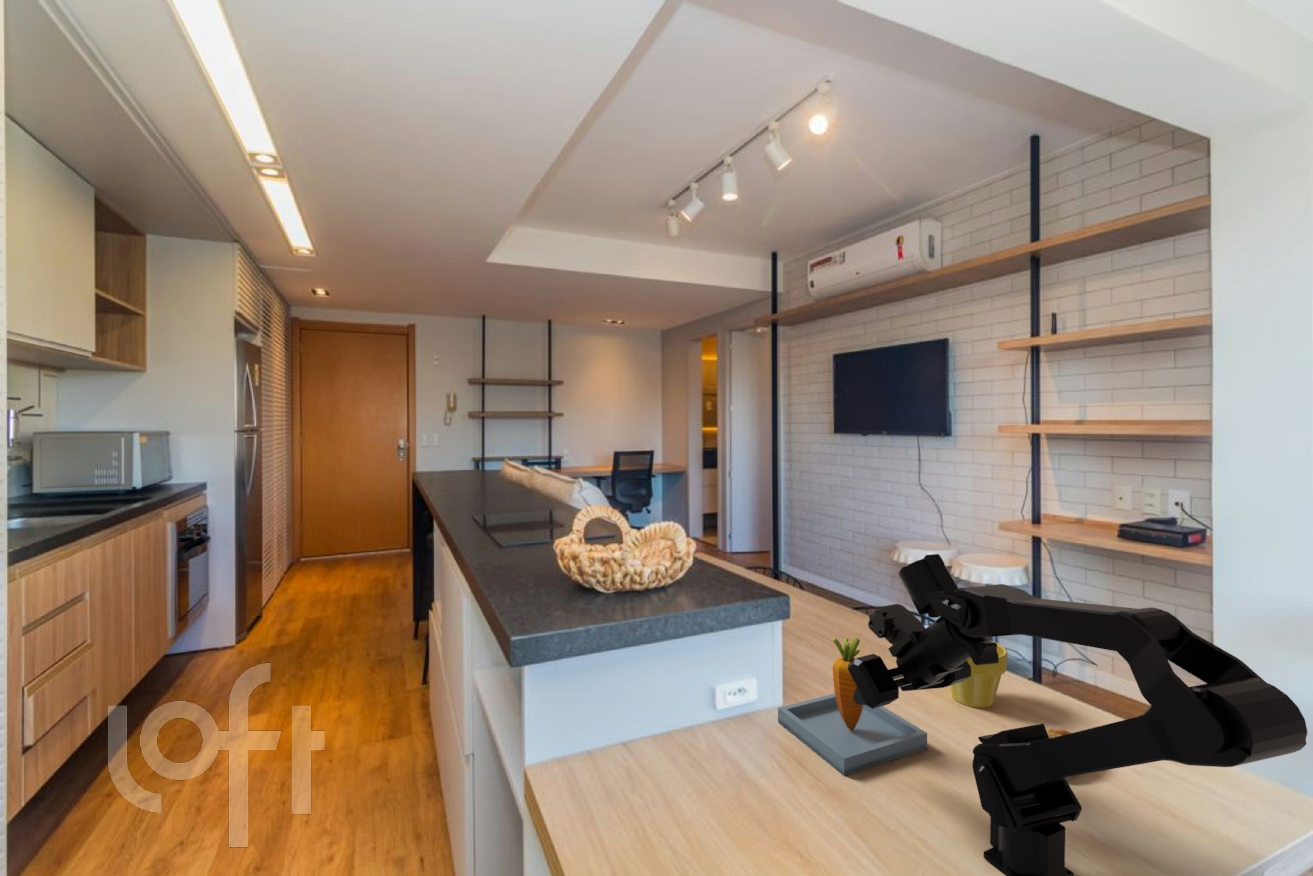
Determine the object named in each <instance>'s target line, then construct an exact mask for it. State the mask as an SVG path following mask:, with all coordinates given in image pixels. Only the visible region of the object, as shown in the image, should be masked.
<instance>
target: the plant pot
mask: <svg viewBox="0 0 1313 876" xmlns="http://www.w3.org/2000/svg"><path fill="white" fill-rule="evenodd" d="M991 641H992V642H995V643H997V653H998V656H999V662H998V663H997V664H986V665H975V664H974V662H973V661H972V659H971V658H969V659H968V660H967V662H968V663H969V665H970V666H971V677H969V678H968V679H966V680H965V681H963V682H960V683H956V684H954V685H950V686H949V688H950V692H951V697H952V698H953V700H955V701H956V702H957V703H959V704H962V705H963V706H967V707H971V708H976V709H987V708H990V707H992V706H994V703H995V699H996V695H997V692H998V688H999V685H1000V682H1001V678H1002V676H1003V675H1004V674H1005V673H1006V672H1007V667H1008V666H1007V665H1008V652H1007V649H1006V648H1005V647H1004V646H1003V645H1001V644H1000V643H998V642H996V641H993V640H991Z"/></svg>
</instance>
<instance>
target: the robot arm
mask: <svg viewBox="0 0 1313 876" xmlns="http://www.w3.org/2000/svg"><path fill="white" fill-rule="evenodd" d="M898 576H899V579H900V581H901V582H902V585H903V586H904V589H905V590H906V592H907V594H908V596H909V598H910V600H911V602H912V603H913V605H914V607H915V609H916V611H917V612H918V614H919V615H920V616H922V615H928V616H929V618H932V619H934V618H935V619H936V618H937V619H936V620H935V621H934V622H932V623H931V624H930V625H928V626H927V627H925V626H924V625H923V623H922V621H921V620H920V619H918V618H917V616H916V615H914V614H913V613H912V612H911V611H910V610H908V608H906V607H905V606H904V605H902V604H900V603H892V604H889V605H884V606H880V607H879V608H878V609H875V610H874V612H873V613H871V614H869V615H868V623H867V625H868V629H869V630H870V631H871V632H872V633H873V634H874V635H875V636H876V637H877V638H878V639H883V638H884V639H885V640H886V641H887V642H888V643H890V644H891V646H890V647H888V651H889V652H890V654H891V656H892V657H893V658H895V663H896V666H897V667H894V668H890V669H888V668H887V666H886V663H885V662H884V660H883V658H882V657H881V656H880V655H877V654H874V653H871V654H867V655H862V656H859V657H854V658H855V659H854V660H853V661H852V662H850V663H849V664H848V671H849V672H850V674H851V676H852V678H853V680H854V682H855V684H856V686H857V688H856V691H855V693H854V696H853V699H854V701H855V703H856V704H857V705H867V706H869V707H870V708H872V709H874V708H877V707H881V706H883V707H884V706H887V705H891V703H893V702H895V701H897V700H898V699H900V697H899V695H900V692H899V691H900V690H901V692H907V691H908V692H911V691H912V692H913V691H921V690H922V691H923V690H931V689H932V690H933V689H943V688H947V687H950V685H954V684H956V683H960V682H963V681H965V680H966V679H968V678H969V677H971V666H970V665H969V663H968V662H967V660H968V659H969V658H971V659H972V661H973V662H974V664H975V665H986V664H997V663H998V662H999V656H998V653H997V643H998V642H996V641H993V640H991V639H990V638H992V637H1004V636H1005V637H1007V636H1020V635H1021V636H1027V637H1033V638H1038V639H1045V640H1049V641H1055V642H1062V643H1066V644H1071V645H1072V644H1074V645H1078V646H1085V647H1089V648H1090V647H1091V648H1096V649H1101V650H1106V651H1107V650H1108V651H1113V652H1117V653H1118V654H1119V655H1120V656H1121V658H1122V659H1124V660H1125V661H1126V662H1127V664H1128V666H1129V667H1130V671H1131V672H1132V675H1133V677H1134V679H1135V682H1136V684H1137V686H1138V689H1139V691H1140V693H1141V696H1142V697H1143V699H1145V700H1146V702H1147V703H1148V704H1149V706H1148V707H1147V709H1146V710H1145V711H1144V712H1143V713H1142V714H1140V715H1138V716H1135V717H1131V718H1127V719H1124V720H1119V721H1115V722H1112V723H1107V724H1104V725H1103V724H1102V725H1100V726H1094V727H1091V728H1088V729H1082V730H1079V731H1076V732H1071V733H1070V734H1066V735H1062V736H1058V737H1054V738H1053V737H1050V736H1048V734H1047V731H1046V730H1047V729H1046V726H1045V723H1039V724H1038V723H1037V724H1032V725H1027V726H1022V727H1021V726H1020V727H1017V728H1012V729H1005V730H1001V731H999V732H997V733H993V734H992V733H991V734H988V735H986V734H985V735H983V736H978V737H977V738H978V740H979V742H980V743H979V744H976V745H975V746H974V748H973V749H972V754H973V759H972V770H973V771H972V772H973V774H974V775H973V776H974V779H975V784H976V787H977V788H976V789H977V792H978V796H979V797H978V798H979V801H980V805H981V809H982V810H983V811H985V812H986V813H987V814H988V815H989V817H990V818H989V819H990V822H989V829H990V830H989V845H990V846H992V847H991V848H989V849H986V850H985V851H983V858H984V859H985V860H986V861H987V862H989V863H990V864H991V865H993V866H994V867H995V868H997V869H998V870H999V871H1001V872H1002V873H1003V874H1005V875H1006V876H1075V873H1074V872H1073V871H1072V870H1071V869H1069V868H1068V867H1066V866H1065V865H1066V826H1064V825H1063V823H1066V822H1070V821H1071V822H1076V821H1077V820H1078V819H1079V816H1080V813H1081V812H1082V810H1083V808H1082V805H1081V803H1080V801H1079V799H1078V798H1077V796H1076V794H1075V793H1074V792H1073V790H1072V788H1071V786H1070V785H1069V781H1070V780H1071V779H1072V778H1073V777H1075V776H1080V775H1085V774H1090V773H1091V774H1092V773H1097V772H1103V771H1109V770H1114V769H1115V770H1116V769H1121V768H1125V767H1126V768H1127V767H1131V766H1138V765H1143V764H1149V763H1150V764H1151V763H1155V762H1161V761H1169V762H1174V763H1178V764H1181V765H1184V766H1185V765H1186V766H1197V767H1217V768H1232V767H1233V768H1234V767H1237V766H1242V765H1247V764H1251V763H1254V762H1255V763H1256V762H1259V761H1264V760H1267V759H1272V758H1276V757H1281V756H1284V755H1289V754H1293V753H1296V752H1298V751H1301V750H1302V749H1303V748H1305V747H1306V745H1307V740H1306V739H1307V735H1308V728H1307V724H1306V719H1305V717H1304V715H1303V714H1302V712H1301V710H1300V708H1299V707H1298V705H1297V704H1296V703H1295V702H1294V701H1293V700H1292V699H1291V697H1290V696H1289V695H1287V694H1286V693H1285V692H1283V690H1281V689H1279V688H1278V687H1276V685H1273V684H1271V683H1268V682H1266V680H1264V679H1263V678H1262V677H1261V676H1260V675H1258V673H1256V672H1255V671H1254V670H1252V668H1250V667H1249V666H1248V665H1247V664H1246V663H1245V662H1244V661H1242V660H1240V659H1239V657H1237V656H1235V655H1233V654H1231V653H1229V652H1228V651H1226V650H1224V649H1222V648H1221V647H1220V646H1218V645H1216V644H1213V643H1212V642H1210V641H1208V640H1207V639H1205V638H1203V637H1202V636H1200V635H1199V634H1198V635H1197V634H1196V633H1194V632H1193V631H1192V630H1191V629H1190V628H1189V627H1187V625H1185V624H1184V623H1183V622H1181V620H1180V619H1178V618H1177V617H1176V616H1175V615H1174V614H1172V613H1170V612H1169V611H1166V610H1163V609H1161V608H1156V607H1144V608H1136V607H1125V606H1116V605H1105V604H1098V603H1097V604H1096V603H1086V602H1076V601H1067V600H1056V599H1046V598H1040V597H1037V596H1033V595H1031V593H1029V592H1028V591H1026V590H1024V589H1021V588H1018V587H1014V586H1012V585H1011V586H1010V585H1007V584H1003V583H998V584H989V585H980V586H967V587H960V588H959V587H958V586H957V583H956V581H954V579H953V577H952V575H951V574H950V572H949V571H948V568H947V567H946V564H945V562H944V560H943V558H942V556H941V555H940V554H939V553H935V554H932V553H931V554H926V555H924V557H923V558H920V559H918V560H916V561H913V562H911V563H909V564H907V565H906V566H903V567H901V569H900V570H899V571H898ZM992 641H993V642H992ZM995 642H996V643H995ZM1170 663H1172V664H1173V665H1176V666H1177V667H1179V668H1181V669H1182V670H1184V671H1185V672H1187V673H1189V674H1190V675H1192V676H1194V677H1196V678H1197V679H1199V680H1200V681H1202V682H1204V683H1205V684H1198V685H1193V686H1188V684H1187V683H1185V681H1183V680H1182V679H1181V678H1180V677H1179V676H1178V675H1177V674H1176V673H1175V672H1174V670H1173V667H1172V665H1171V664H1170Z"/></svg>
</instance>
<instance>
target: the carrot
mask: <svg viewBox="0 0 1313 876" xmlns="http://www.w3.org/2000/svg"><path fill="white" fill-rule="evenodd" d="M832 641H833V642H834V644H835V646H836V647H837V649H838V652H839V653H840V655H841V657H838V658H837V659H836V660H835V661H834V662H833V663H832V664H833V665H832V676H833V677H832V678H833V679H832V680H833V687H834V688H833V689H834V694H835V696H836V701H837V705H838V708H839V712H840V714H841V716H842V719H843V721H844V722H845V724H846V726H847V728H849V729H850V730H851V731H852V730H853V729H855V727H856V725H857V723H858V721H859V718H860V716H861V713H862V709H863V705H857V704H856V703H855V701H854V699H853V696H854V693H855V691H856V688H857V686H856V684H855V682H854V680H853V678H852V676H851V674H850V672H849V671H848V664H849V663H850V662H852V661H853V660H854V659H855V658H856V657H857V655H858V654H859V653H860V652H861V650H860V649H859V648H858V646H859V643H860V641H861V640H860V639H859V638H858V637H856V636H855V637H854V638H853V640H852V642H851V643H850V642H849V638H845V639H844V640H843V641H844V643H843V644H844V646H843V647H842V644H841V642H840V641H839V639H838V638H836V637H834V638H833V639H832ZM857 648H858V649H857Z"/></svg>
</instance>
